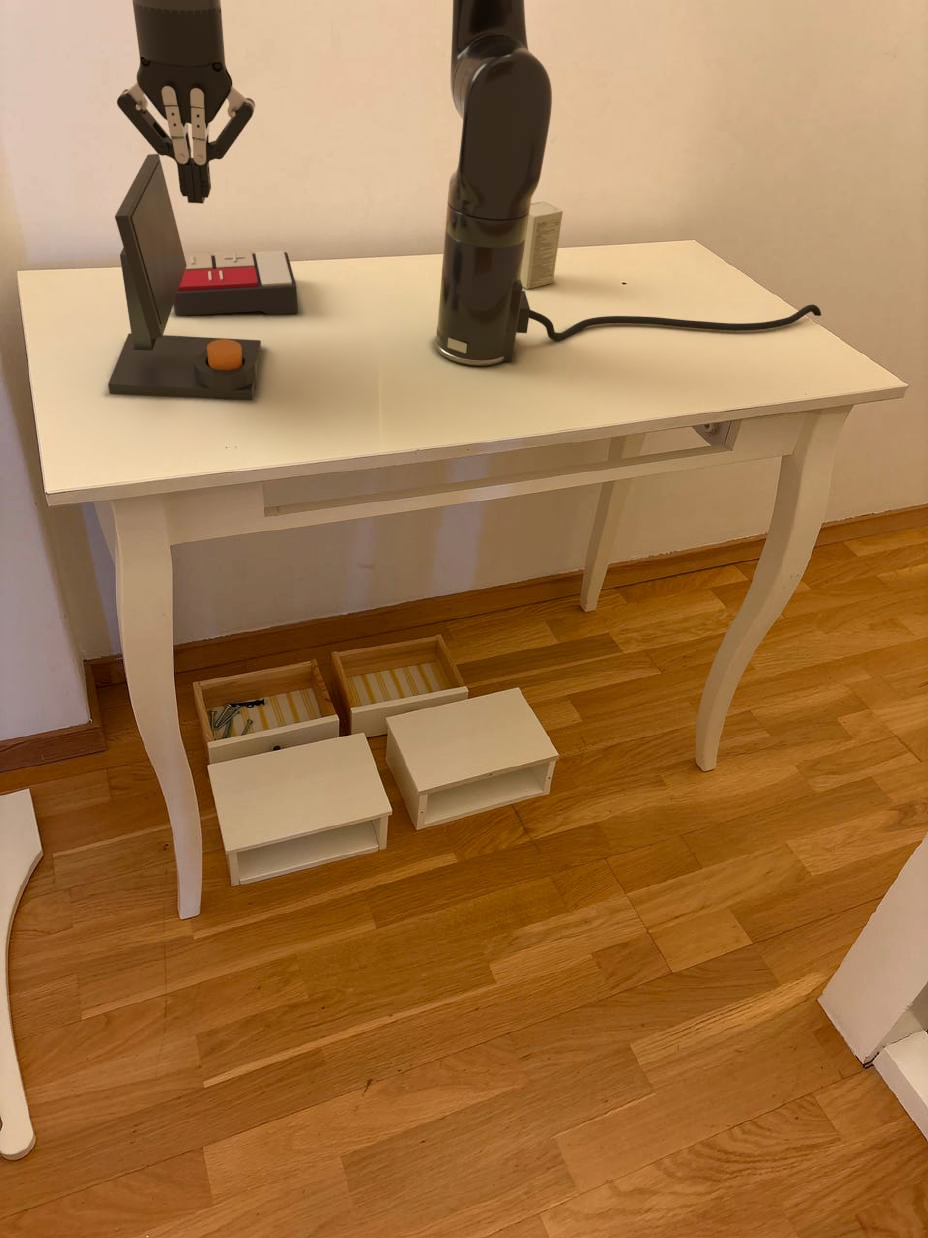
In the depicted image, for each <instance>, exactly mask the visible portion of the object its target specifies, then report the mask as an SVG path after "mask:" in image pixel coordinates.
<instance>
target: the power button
mask: <svg viewBox="0 0 928 1238" xmlns="http://www.w3.org/2000/svg"><path fill="white" fill-rule="evenodd" d="M227 339H228V338H226V339H221V340H215V341H212V342H210V343H209V344H208V345H207V354H208V364H209V367H211V368H214V369H216V370H227V371H229V370H234V369H238V368H240V367H241V366H242V350H241V345H240V344H239V343H238V342H236V341H233V340H227Z"/></svg>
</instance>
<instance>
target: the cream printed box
mask: <svg viewBox="0 0 928 1238" xmlns="http://www.w3.org/2000/svg"><path fill="white" fill-rule="evenodd" d="M562 219H563V210H562V209H561V208H558V207H556V206H554V205H552V204H550V203H548V202H546V201H544V200H543V201H538V202H533V203H532V202H531V204H530V210H529V217H528V225H527V232H526V239H525V247H524V254H523V261H522V269H521V276H520V278H521V282H522V286H523V289H525V290H527V289H533V288H537V287H541V286H544V285H549V284H552V283H553V282H554V276H555V269H556V263H557V255H558V249H559V241H560V233H561V227H562V226H561V225H562Z"/></svg>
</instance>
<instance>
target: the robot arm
mask: <svg viewBox="0 0 928 1238" xmlns="http://www.w3.org/2000/svg"><path fill="white" fill-rule="evenodd" d="M131 2H132V7H133V15H134V24H135V30H136V31H135V33H136V38H137V47H138V54H139V67H138V70H137V72H136V82H135V83H134V84H133V85H132V86H131V87H130V88H129V89H127V88H126V89H124V90H123V91H122V92H121V93H120V95H119V96H118V98H117V100H116V106H117V107H118V109H120V110H121V112H122V113H123V114H124V115H125V116H126V118H127V119H128V120H129V122H131V124H132V125H133V126H134V127H135V128H136V130H137V131H138V132H139V133H140V134H141V136H142V137H143V138H144V139H145V140H146V141H147V143H148V144H149V145H150V146H151V147H152V148H153V150H154V151H155V152H156V154H159V156H162V157H164V156H166V157H169V158H171V159H172V160H174V162H175V163H176V167H177V174H178V175H177V177H178V184H179V192H180V194H181V196H182V197H185V198H187V203H188V204H202V205H204V203H205V200H206V199H208V198H209V196H210V192H211V190H212V181H211V172H210V170H211V169H210V162H211V161H213V160H214V161H215V160H222V159H224V157H225V156H226V154H227V153H228V152H229V150H230V148H231V147H232V146H233V144H234V143H235V141H236V140H237V139H238V138H239V136H240V135H241V133H242V132H243V130H244V128H246V126H247V125H248V123H249V121H250V120H251V119H252V117H253V115H254V113H255V109H256V103H255V101H254V100H253V99H252V98H250V97H245V96H243V95H242V94H241V93H240V92H239V91H238V90H237V89H236V88H234V86H233V78H232V76H231V74H230V73H229V70H228V68H227V65H226V55H225V43H224V42H225V39H224V30H223V29H224V28H223V15H222V4H221V0H132V1H131ZM525 10H526V9H525V0H452V20H451V21H452V23H451V24H452V25H451V54H450V75H449V76H450V81H449V82H450V83H449V84H450V91H451V97H452V101H453V104H454V107H455V110H456V111H457V113H458V115H459V116H460V118H461V119H462V128H461V138H460V146H459V156H458V162H457V163H458V164H457V168H456V170H455V171H454V172H453V173H452V174H451V176H450V178H449V183H448V190H447V191H448V192H447V193H448V195H447V205H446V216H445V227H444V228H445V230H444V231H445V232H444V240H443V241H444V242H443V244H444V245H443V252H442V266H441V278H440V279H441V280H440V290H439V301H438V302H439V303H438V315H437V316H438V317H437V327H436V336H435V343H434V344H435V345H434V346H435V349H436V351H437V352H438V353H439V354H440V355H441V356H442V357H444V358H446V359H448V360H450V361H453V362H455V363H459V364H462V365H468V366H477V367H478V366H479V367H480V366H481V367H482V366H483V367H484V366H493V365H496V364H500V363H502V362H513V359H514V352H515V346H516V338H517V334H528V327H529V321H530V319H531V320H533V321H536V322H538V323H539V324H541V325H543V326H544V328H545V329H546V334H547V337H548V338H549V339H550V340H552V341H556V342H558V341H560V342H561V341H563V340H566V339H568V338H570V337H571V336H573V335H575V334H577V333H578V332H580V331H582V330H583V329H585V328H588V327H592V326H599V325H612V324H613V325H614V324H627V325H629V324H631V325H632V324H633V325H654V326H664V327H665V326H666V327H673V328H684V329H698V330H699V329H700V330H711V331H730V332H745V331H746V332H747V331H762V330H770V329H775V328H780V327H784V326H788V325H791V324H794V323H796V322H797V321H799V320H800V319H802V318H803V317H804V316H806V315H807V314H809V313H812V314H813V315H814V316H816V317H820V316H822V312H821V309H820V308H819V307H818V306H817V305H815V304H808V305H805V306H803V307H802V308H801V309H799V310H798V311H796V312H794V313H793V314H792V315H790V316H787V317H784V318H779V319H775V320H770V321H764V322H763V321H762V322H747V323H745V322H744V323H741V322H740V323H736V322H735V323H733V322H717V321H702V320H689V319H677V318H670V317H669V318H667V317H660V316H659V317H658V316H639V315H606V316H597V317H590V318H587V319H586V318H585V319H584V320H580V321H579V322H577V323H575V324H573V325H572V326H570V327H569V328H567V329H566V330H564V331H562V332H556V331H555V327H554V323H553V321H552V320H550V318H548V317H547V316H545V315H544V314H541V313H539V312H537V311H534V310H532V309H531V308H530V304H529V300H528V297H527V294H526V291H525V290H524V287H523V286H522V282H521V278H520V276H521V269H522V261H523V254H524V247H525V239H526V232H527V225H528V217H529V210H530V204H532V198H533V196H534V194H535V192H536V190H537V188H538V186H539V183H540V179H541V176H542V169H543V164H544V158H545V153H546V147H547V141H548V136H549V131H550V123H551V116H552V108H553V107H552V106H553V90H552V83H551V79H550V75H549V73H548V71H547V69H546V68H545V66H544V64H543V63H542V62H541V61H540V60H539V59H538V58H537V56H535V55H534V54H533V53H532V52H530V50H529V45H528V37H527V36H528V35H527V29H526V28H527V26H526V14H525V13H526V12H525ZM147 99H148V100H149V101H150V103H151V104H152V105H153V107H154V108H155V109H156V110H157V112H158V113H159V115H160V116H161V117H162V118H163V119H164V120H165V121H167V125H168V131H169V134H168V133H167V131H165V129H164V128H163V127H162V125H161V124H160V123H159V122H158V121H157V120H156V119H155V117H154V115H152V113H151V112H150V111H149V110H148V106H149V102H148V100H147ZM226 101H228V107H227V115H228V117H229V118H230V119H229V120H228V121H227V123H226V124H225V126H224V127H223V129H222V131H221V132H220V133H219V135H218V136H217V137H216V138H215V140H212V141H210V123H212V122H213V121H214V119H215V118H216V117H217V115H218V113H219V112H220V110H221V109H222V107H223V105H224V104H225V102H226ZM189 124H190V125H191V138H192V145H191V138H190V133H189ZM192 156H193V157H192Z"/></svg>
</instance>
